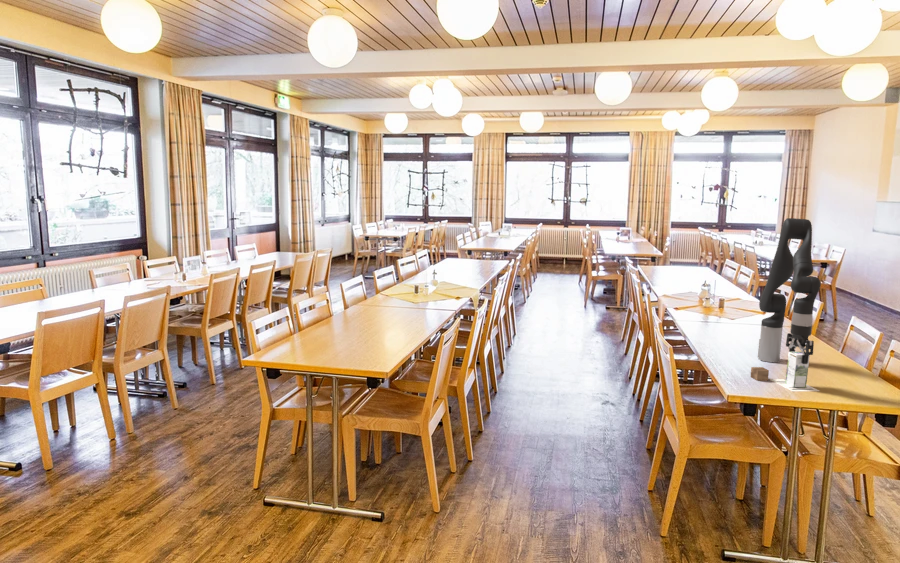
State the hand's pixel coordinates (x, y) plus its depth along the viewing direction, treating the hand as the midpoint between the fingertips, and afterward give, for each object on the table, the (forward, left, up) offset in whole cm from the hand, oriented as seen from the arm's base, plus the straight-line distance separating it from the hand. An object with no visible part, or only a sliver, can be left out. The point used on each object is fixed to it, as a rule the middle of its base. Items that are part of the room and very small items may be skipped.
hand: (797, 360), depth 248 cm
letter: (-1, 0, -11) cm, 11 cm away
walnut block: (-10, -10, -11) cm, 18 cm away
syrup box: (+1, 0, -11) cm, 11 cm away
